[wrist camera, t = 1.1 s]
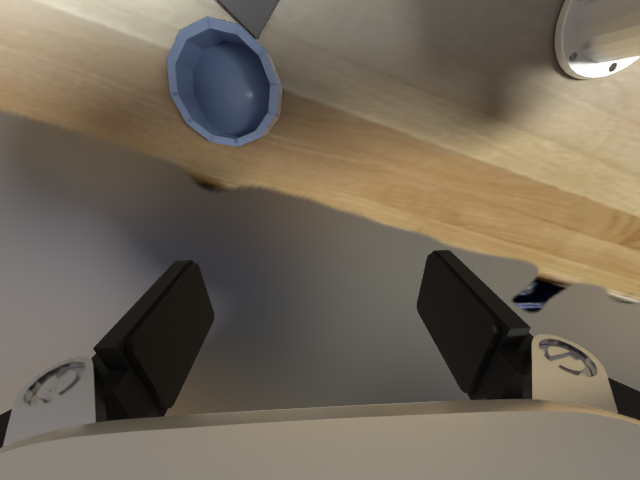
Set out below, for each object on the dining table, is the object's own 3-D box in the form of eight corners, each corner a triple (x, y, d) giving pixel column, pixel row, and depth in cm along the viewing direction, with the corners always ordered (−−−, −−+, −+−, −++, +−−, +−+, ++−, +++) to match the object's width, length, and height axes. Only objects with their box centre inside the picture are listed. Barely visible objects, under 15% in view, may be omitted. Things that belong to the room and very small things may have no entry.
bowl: (219, 8, 25) (199, -15, 21) (299, 87, 29) (297, 81, 24) (174, 99, 29) (149, 95, 24) (251, 158, 32) (241, 165, 28)
